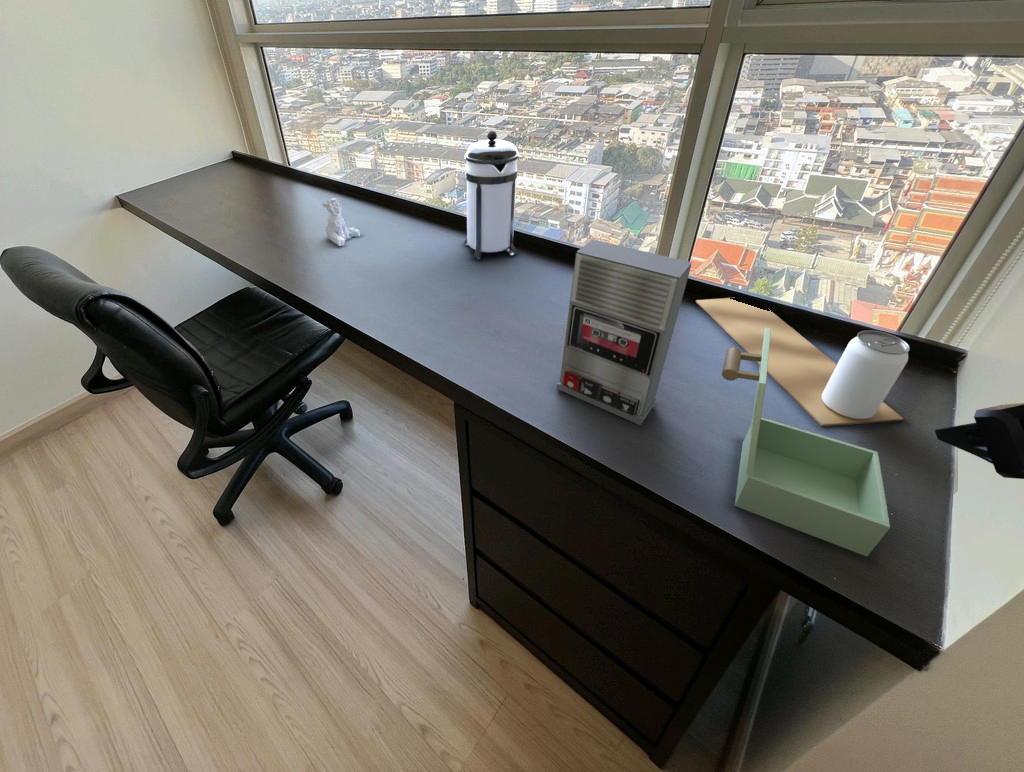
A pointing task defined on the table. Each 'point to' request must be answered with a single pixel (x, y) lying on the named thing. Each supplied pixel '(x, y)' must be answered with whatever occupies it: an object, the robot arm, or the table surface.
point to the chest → (815, 486)
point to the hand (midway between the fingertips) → (972, 426)
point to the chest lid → (733, 373)
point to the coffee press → (491, 195)
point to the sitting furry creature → (338, 223)
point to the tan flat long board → (786, 358)
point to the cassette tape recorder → (620, 326)
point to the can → (865, 374)
